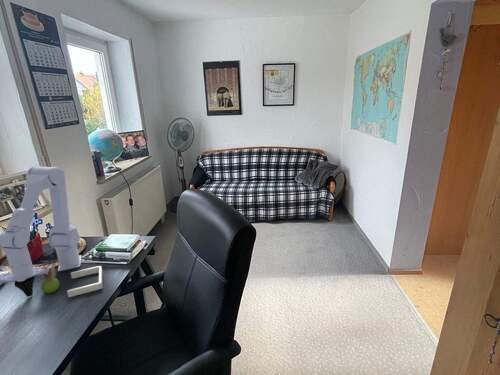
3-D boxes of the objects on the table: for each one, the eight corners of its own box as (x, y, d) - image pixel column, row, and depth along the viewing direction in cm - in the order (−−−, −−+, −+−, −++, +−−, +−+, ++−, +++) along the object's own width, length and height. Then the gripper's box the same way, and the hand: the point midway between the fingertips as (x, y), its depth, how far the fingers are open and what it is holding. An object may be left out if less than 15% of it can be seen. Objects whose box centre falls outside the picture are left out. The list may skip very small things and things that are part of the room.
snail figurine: (53, 297, 97) (46, 269, 93) (39, 295, 98) (31, 267, 94) (66, 287, 102) (59, 260, 98) (52, 285, 103) (45, 258, 99)
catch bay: (72, 277, 108) (70, 272, 107) (102, 270, 112) (101, 265, 112) (68, 297, 97) (67, 291, 96) (102, 288, 102) (101, 282, 101)
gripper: (-12, 274, 86) (0, 308, 90) (44, 263, 92) (52, 295, 97) (-4, 263, 92) (6, 295, 96) (47, 253, 98) (55, 283, 102)
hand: (30, 294), depth 97 cm, fingers closed
